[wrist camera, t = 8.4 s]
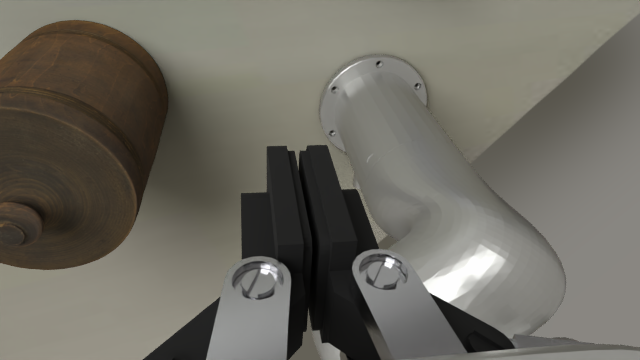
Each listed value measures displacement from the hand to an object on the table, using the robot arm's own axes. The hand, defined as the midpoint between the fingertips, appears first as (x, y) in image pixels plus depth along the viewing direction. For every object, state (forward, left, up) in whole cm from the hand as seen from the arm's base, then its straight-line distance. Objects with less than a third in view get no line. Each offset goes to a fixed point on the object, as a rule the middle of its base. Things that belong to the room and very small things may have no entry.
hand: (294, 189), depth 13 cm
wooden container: (-13, +17, -36) cm, 42 cm away
